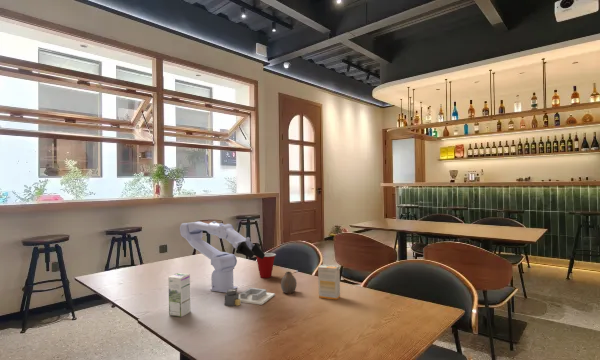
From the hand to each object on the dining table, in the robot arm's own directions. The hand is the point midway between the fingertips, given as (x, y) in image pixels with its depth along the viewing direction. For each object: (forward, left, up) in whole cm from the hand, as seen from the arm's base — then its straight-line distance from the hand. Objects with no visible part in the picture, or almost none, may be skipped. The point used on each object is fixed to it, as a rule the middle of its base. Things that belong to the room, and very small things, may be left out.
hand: (258, 256), depth 142 cm
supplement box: (+28, +10, -18) cm, 35 cm away
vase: (+9, +11, -18) cm, 23 cm away
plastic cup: (-12, +30, -18) cm, 37 cm away
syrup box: (-20, -25, -18) cm, 36 cm away
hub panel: (-2, -1, -18) cm, 18 cm away
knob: (-7, -10, -18) cm, 21 cm away
